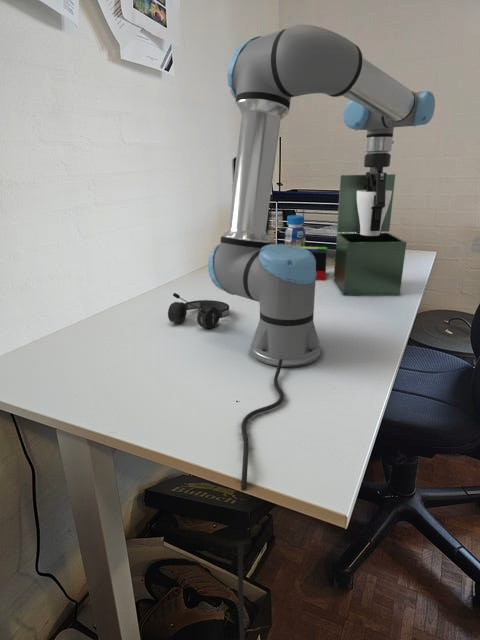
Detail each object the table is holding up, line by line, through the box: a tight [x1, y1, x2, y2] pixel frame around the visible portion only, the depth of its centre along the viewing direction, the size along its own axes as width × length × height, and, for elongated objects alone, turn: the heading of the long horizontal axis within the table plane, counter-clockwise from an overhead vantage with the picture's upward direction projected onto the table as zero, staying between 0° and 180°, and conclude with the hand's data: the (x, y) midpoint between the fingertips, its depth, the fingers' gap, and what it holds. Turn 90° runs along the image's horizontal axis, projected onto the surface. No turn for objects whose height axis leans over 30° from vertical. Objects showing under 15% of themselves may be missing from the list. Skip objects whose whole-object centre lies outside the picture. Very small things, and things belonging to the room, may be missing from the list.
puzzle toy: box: [301, 246, 328, 281], centre depth 148 cm, size 10×10×10 cm
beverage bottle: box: [284, 214, 306, 247], centre depth 163 cm, size 8×8×20 cm
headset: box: [167, 292, 230, 329], centre depth 108 cm, size 14×10×20 cm
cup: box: [357, 190, 392, 236], centre depth 127 cm, size 10×10×14 cm
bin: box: [333, 232, 407, 296], centre depth 132 cm, size 18×18×17 cm
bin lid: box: [336, 173, 396, 233], centre depth 138 cm, size 18×18×8 cm
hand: (370, 228), depth 128 cm, fingers closed on cup, 10 cm apart
